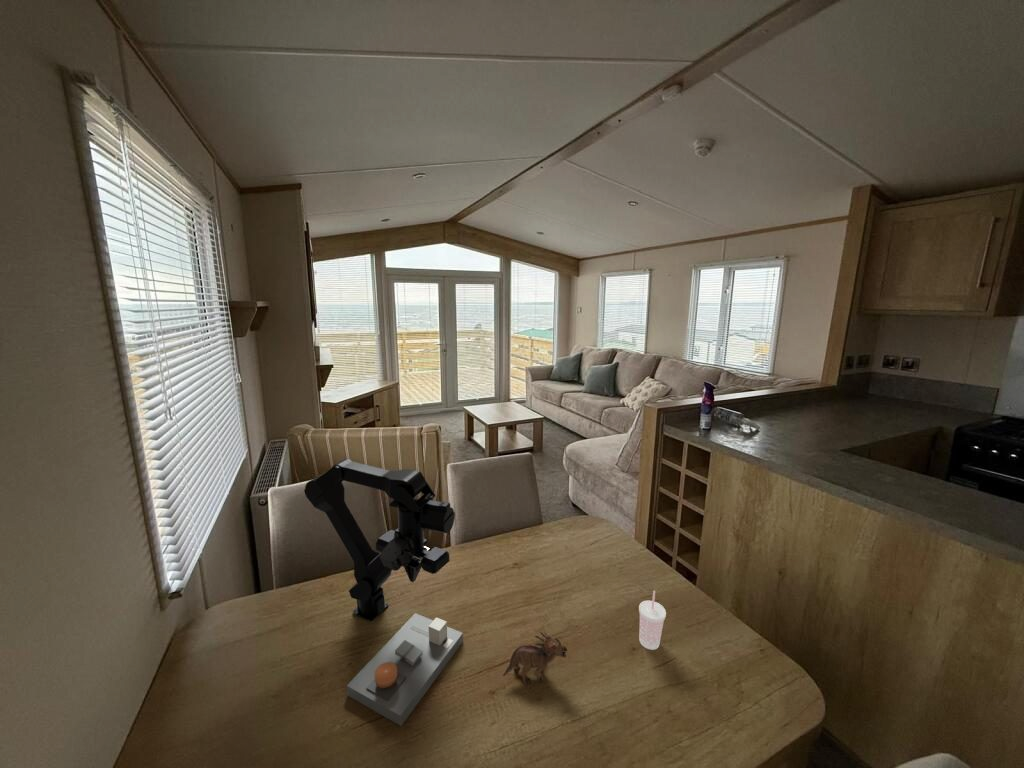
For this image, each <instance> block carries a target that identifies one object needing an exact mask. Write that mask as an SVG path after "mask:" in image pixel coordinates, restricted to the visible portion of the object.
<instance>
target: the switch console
mask: <svg viewBox="0 0 1024 768" xmlns="http://www.w3.org/2000/svg"><path fill="white" fill-rule="evenodd" d="M433 621H434V619H431V618H428V617H425V616H423V615H420V614H418V613H416V612H415V613H414V614H413V615H412V616H411V617H410V618H409V619H408V620H407V621H406V622H405V624H403V625H402V626H401V628H400V629H399V630H398V631H397V632H396V633H395V634H394V635H393V636H392V637H391V638H390V639H389V640H388V641H387V642H386V643H385V645H383V647H382V648H381V649H380V650H379V651H378V652H377V653H376V654H375V655H374V656H373V657H372V658H371V659H370V660H369V662H368V663H367V664H366V665H365V666H363V668H361V670H360V671H359V672H358V673H357V674H356V675H355V676H354V677H353V678H352V680H350V682H349V683H347V685H346V693H347V696H348V697H350V698H351V699H353V700H354V701H356V702H358V703H360V704H362V705H364V706H365V707H367V709H371V710H372V711H374V712H375V713H377V714H379V715H381V716H382V717H385V718H386V719H388V720H389V721H392V722H393V723H394V724H397V725H398V726H400V727H402V726H403V724H404V723H405V722H406V720H407V719H408V717H409V716H410V715H411V713H412V712H413V711H414V709H415V708H416V707H417V705H418V704H419V703H420V701H421V700H422V698H424V696H425V694H426V693H427V692H428V690H429V689H430V687H431V686H432V685H433V684H434V682H436V679H437V678H438V676H439V675H440V674H441V672H442V671H443V669H444V668H445V667H446V666H447V664H448V663H449V661H450V660H451V659H452V658H453V656H454V655H455V653H456V651H458V649H459V648H460V646H462V644H463V642H464V639H463V637H464V634H463V632H461V631H459V630H456V629H454V628H452V627H450V626H447V637H446V639H445V640H444V641H443V642H442V644H441V645H440V646H439V645H437V644H435V643H432V642H430V641H429V625H430V624H431V623H432V622H433ZM404 640H406V641H408V642H409V643H411V644H412V645H414V646H415V647H417V648H418V649H420V650H422V651H423V652H422V655H421V657H420V658H419V659H418V660H417V661H416V663H415V664H414V665H413V666H412V665H411V664H409V663H408V662H406V661H404V660H403V659H402V658H400V657H399V656H397V655H396V654H395V650H396V649H397V648H398V647H399V646H400V644H401V643H402V642H403V641H404ZM386 662H392V663H394V664H395V665H396V666H397V675H398V676H397V680H396V681H395V683H394V684H393V685H391V686H389V687H386V688H380V687H378V686H377V685H376V683H375V671H376V669H377V668H378V667H379V666H380V665H381V664H383V663H386Z"/></svg>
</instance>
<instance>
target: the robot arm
mask: <svg viewBox="0 0 1024 768" xmlns="http://www.w3.org/2000/svg"><path fill="white" fill-rule="evenodd" d="M344 481H345V482H349V483H352V484H355V485H360V486H363V487H367V488H371V489H376V490H378V491H382V492H383V493H384V494H386V495H387V497H389V498H390V499H391V500H392V501H390V502H389V504H388V507H391V508H392V507H393V508H397V519H398V520H397V524H398V528H396V529H395V530H393V529H390V530H388V531H387V532H386V533H384V534H383V535H381V536H379V537H378V538H377V539H376V541H375V550H374V549H373V548H372V546H371V545H370V543H369V541H368V540H367V538H366V536H365V534H364V533H363V531H362V528H360V526H359V524H358V522H357V521H356V519H355V517H354V515H353V514H352V512H351V510H350V509H349V506H348V505H347V504H346V501H345V487H344V484H343V482H344ZM303 492H304V495H305V497H306V499H308V501H309V502H310V503H311V505H312V507H314V509H318V510H320V511H321V512H324V513H325V515H326V516H327V519H329V522H330V523H331V525H332V526H333V528H334V530H335V532H336V533H337V535H338V537H339V539H340V541H342V543H343V545H344V547H345V549H346V550H347V552H348V554H349V556H350V557H351V559H352V561H353V576H354V579H355V581H356V583H354V585H353V586H352V587H351V588H350V589H349V590H348V593H349V595H350V598H351V599H354V600H356V605H357V607H355V608H354V610H352V614H353V615H355V616H357V617H360V618H362V619H364V620H366V621H368V622H373V621H374V620H375V619H376V618H377V617H378V616H379V615H380V614H381V613H382V612H383V611H385V609H387V608H388V607H389V603H388V602H386V601H385V595H384V589H383V587H382V586H383V585H384V584H385V583H386V582H387V580H388V579H389V578H390V577H391V576H392V571H394V572H395V571H399V570H400V569H401V567H403V569H404V571H405V572H406V574H407V577H408V579H409V581H410V582H411V583H414V582H415V581H416V580H417V577H418V575H419V573H420V572H421V569H422V570H423V571H424V572H426V573H429V574H432V575H434V574H437V573H438V572H439V571H440V570H441V569H442V568H443V567H445V566H446V565H447V564H448V563H449V562H450V553H449V551H447V550H446V549H442V548H440V547H438V546H434V547H433V548H431V550H430V548H429V547H427V546H426V545H428V539H426V538H424V537H425V536H424V535H425V534H424V531H425V530H428V531H432V532H433V531H434V532H439V533H443V534H449V533H450V532H451V530H452V529H453V526H454V523H455V516H456V513H455V511H454V508H453V507H451V503H450V502H447V501H438V500H433V499H434V498H435V497H436V494H435V493H434V491H433V490H432V488H431V487H430V485H429V483H428V482H427V480H426V478H425V477H424V475H423V473H422V472H421V471H419V470H416V469H405V468H404V469H398V470H388V469H384V468H380V467H376V466H372V465H368V464H363V463H360V462H357V461H353V460H352V459H349V458H347V459H343V460H341V461H339V462H336V464H334V465H333V466H331V468H329V469H328V470H327V471H325V472H323V473H322V474H320V475H318V476H316V477H314V478H312V479H311V480H308V482H306V484H305V486H304V489H303ZM421 493H422V495H421V496H420V497H419V498H416V497H418V496H419V495H420V494H421Z"/></svg>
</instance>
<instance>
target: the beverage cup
mask: <svg viewBox="0 0 1024 768" xmlns="http://www.w3.org/2000/svg"><path fill="white" fill-rule="evenodd" d="M655 599H656V590H652V600H650V599H649V600H643V601H642V602H640V603H639V605H638V612H639V631H638V632H639V636H638V637H639V638H638V639H639V643H640V644H641V645H642V646H643V647H644V648H645V649H647V650H652V651H653V650H657V649H658V648H659V646H660V643H661V638H662V637H661V636H662V633H663V631H662V630H663V628H664V627H663V626H664V622H665V620H666V617H667V616H666V615H667V610H666V609H665V607H664V606H663V605H662V604H660V603H659V602H657V601H655Z"/></svg>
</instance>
